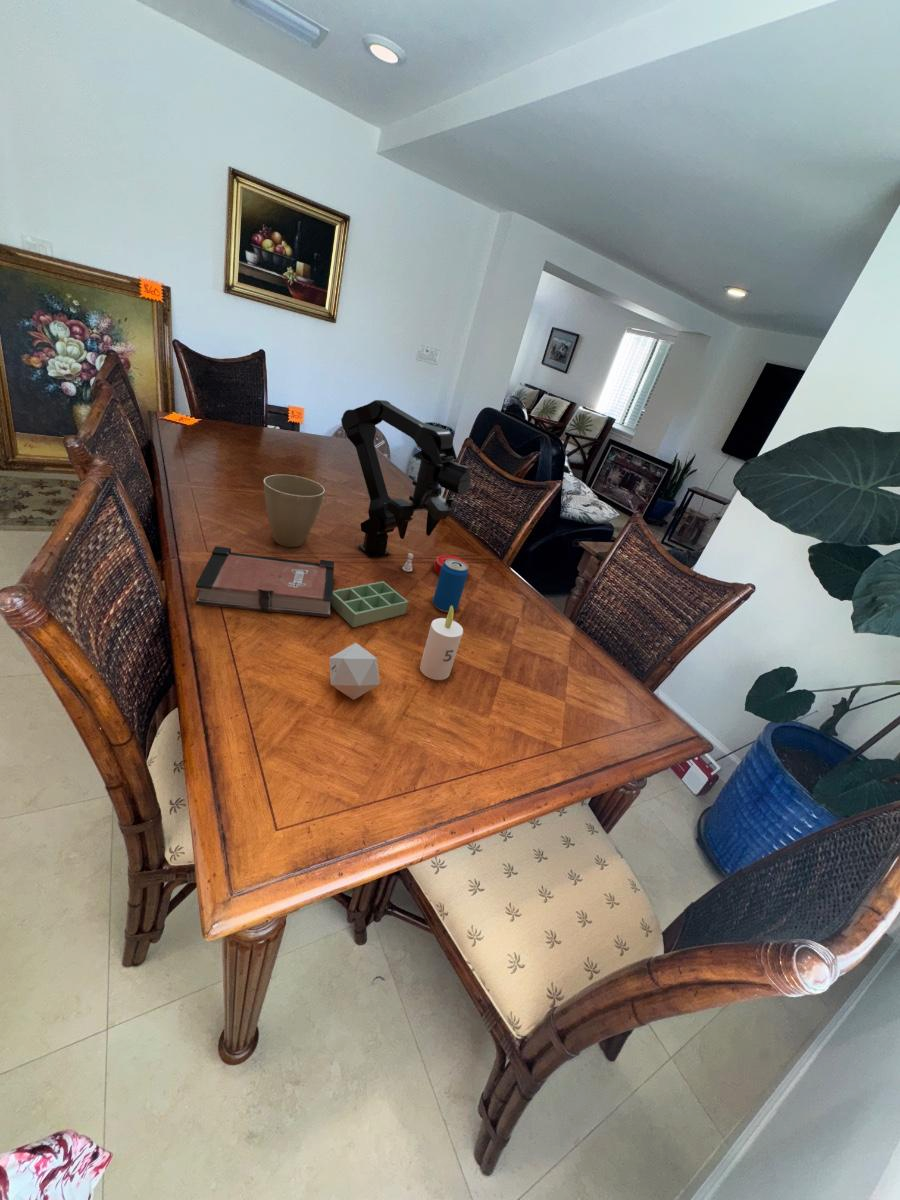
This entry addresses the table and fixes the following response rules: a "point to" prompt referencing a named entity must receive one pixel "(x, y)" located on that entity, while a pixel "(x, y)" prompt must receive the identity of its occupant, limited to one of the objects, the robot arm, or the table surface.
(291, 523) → the plant pot
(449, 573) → the beverage can
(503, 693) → the table surface
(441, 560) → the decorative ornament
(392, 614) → the grid
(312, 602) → the book
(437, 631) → the candle
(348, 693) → the die
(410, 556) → the chess pawn
